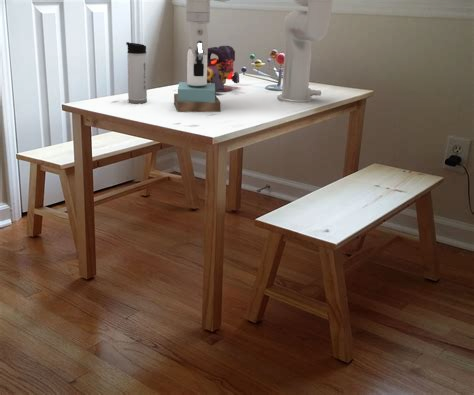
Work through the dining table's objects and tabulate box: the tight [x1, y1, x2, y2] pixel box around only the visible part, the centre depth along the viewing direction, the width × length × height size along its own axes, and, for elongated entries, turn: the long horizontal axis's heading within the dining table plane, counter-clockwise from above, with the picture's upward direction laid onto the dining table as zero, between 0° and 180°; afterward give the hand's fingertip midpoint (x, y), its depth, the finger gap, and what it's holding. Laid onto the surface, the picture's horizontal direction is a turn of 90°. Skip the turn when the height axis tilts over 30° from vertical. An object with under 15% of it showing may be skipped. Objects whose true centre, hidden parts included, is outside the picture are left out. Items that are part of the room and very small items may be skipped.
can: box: [186, 46, 207, 86], centre depth 206 cm, size 6×6×12 cm
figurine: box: [207, 45, 240, 93], centre depth 239 cm, size 20×14×17 cm
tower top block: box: [177, 81, 216, 103], centre depth 209 cm, size 12×12×4 cm
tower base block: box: [173, 93, 222, 113], centre depth 211 cm, size 14×14×4 cm
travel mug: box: [125, 41, 148, 105], centre depth 213 cm, size 6×7×20 cm
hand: (197, 73), depth 207 cm, fingers closed on can, 6 cm apart
